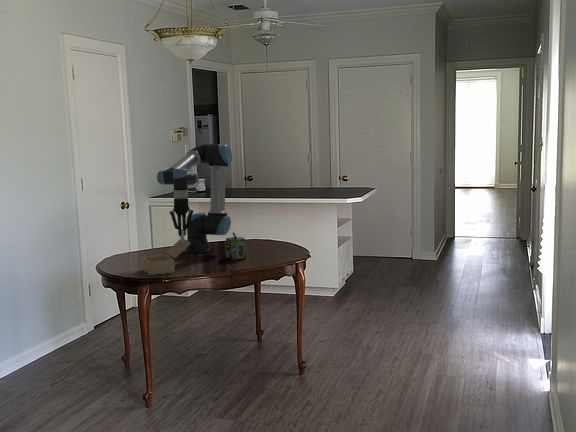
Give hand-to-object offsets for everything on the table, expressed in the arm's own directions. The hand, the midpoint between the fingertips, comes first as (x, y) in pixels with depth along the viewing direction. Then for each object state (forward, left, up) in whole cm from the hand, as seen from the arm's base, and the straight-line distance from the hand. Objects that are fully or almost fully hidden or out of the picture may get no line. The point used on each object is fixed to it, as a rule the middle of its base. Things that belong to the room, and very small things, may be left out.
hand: (182, 241), depth 334 cm
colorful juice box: (-9, +34, -15) cm, 39 cm away
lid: (0, -3, -3) cm, 4 cm away
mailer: (0, -14, -15) cm, 20 cm away
